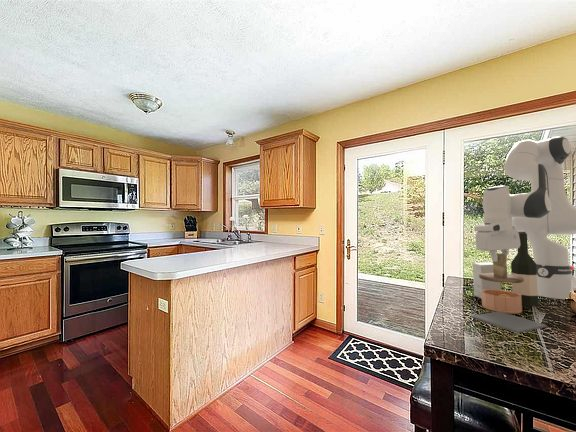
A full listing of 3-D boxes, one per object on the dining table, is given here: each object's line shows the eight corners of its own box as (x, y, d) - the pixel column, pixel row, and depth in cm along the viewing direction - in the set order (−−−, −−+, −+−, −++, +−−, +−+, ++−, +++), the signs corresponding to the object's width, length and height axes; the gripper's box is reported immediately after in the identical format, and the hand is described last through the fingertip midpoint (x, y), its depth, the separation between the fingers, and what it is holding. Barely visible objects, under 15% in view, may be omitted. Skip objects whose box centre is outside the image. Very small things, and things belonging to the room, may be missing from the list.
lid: (494, 274, 109) (492, 251, 109) (532, 280, 96) (531, 254, 96) (471, 277, 105) (469, 253, 105) (508, 284, 92) (506, 257, 92)
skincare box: (492, 295, 117) (490, 262, 118) (502, 300, 111) (501, 264, 111) (473, 295, 118) (471, 262, 118) (482, 299, 111) (480, 264, 112)
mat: (499, 312, 95) (499, 311, 95) (546, 326, 82) (546, 324, 82) (472, 317, 91) (471, 315, 91) (517, 333, 78) (517, 331, 78)
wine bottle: (517, 305, 103) (513, 232, 104) (508, 299, 111) (505, 231, 112) (544, 307, 100) (540, 231, 101) (533, 301, 108) (529, 231, 109)
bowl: (495, 302, 107) (494, 288, 108) (529, 311, 96) (529, 295, 96) (475, 305, 104) (474, 290, 104) (508, 315, 92) (507, 298, 92)
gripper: (506, 225, 107) (508, 258, 107) (471, 227, 101) (473, 261, 100) (524, 225, 101) (526, 260, 101) (488, 227, 95) (490, 264, 94)
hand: (499, 260), depth 101 cm, fingers closed on lid, 3 cm apart
